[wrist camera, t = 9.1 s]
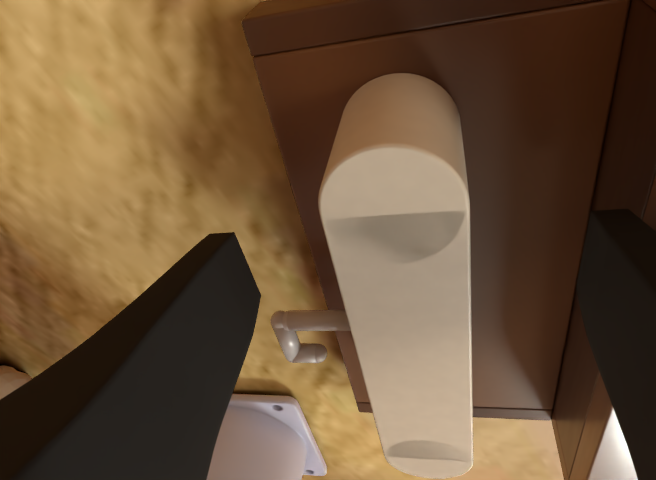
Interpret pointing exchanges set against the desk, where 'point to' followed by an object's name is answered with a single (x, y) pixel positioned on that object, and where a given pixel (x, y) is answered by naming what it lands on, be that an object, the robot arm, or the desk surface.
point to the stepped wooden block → (492, 171)
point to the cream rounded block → (401, 270)
